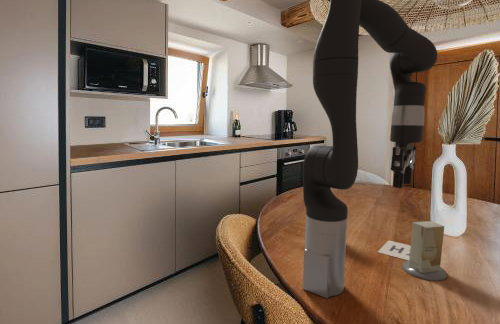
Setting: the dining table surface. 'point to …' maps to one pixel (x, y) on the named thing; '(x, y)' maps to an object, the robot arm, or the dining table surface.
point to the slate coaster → (428, 275)
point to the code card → (396, 250)
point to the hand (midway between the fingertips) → (402, 185)
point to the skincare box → (426, 246)
